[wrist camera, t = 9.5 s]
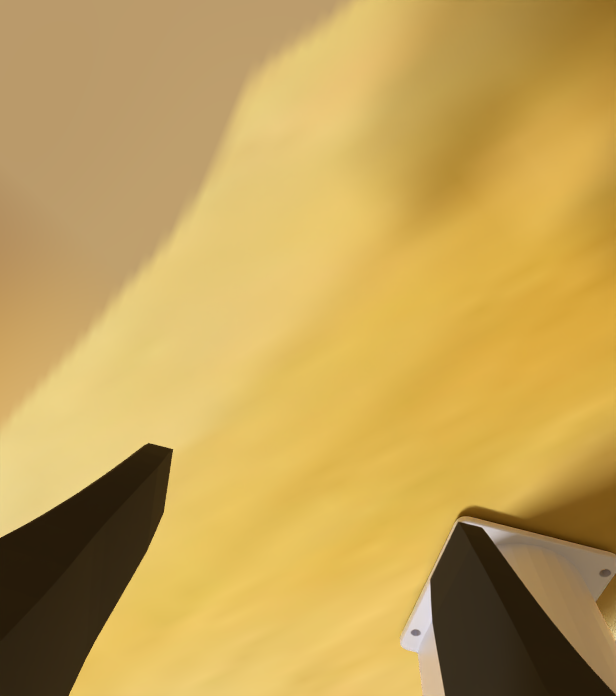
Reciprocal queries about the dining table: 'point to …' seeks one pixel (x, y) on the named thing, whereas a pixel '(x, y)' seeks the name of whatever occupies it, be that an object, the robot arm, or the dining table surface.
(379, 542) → the dining table surface
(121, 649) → the dining table surface
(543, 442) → the dining table surface
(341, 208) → the dining table surface
